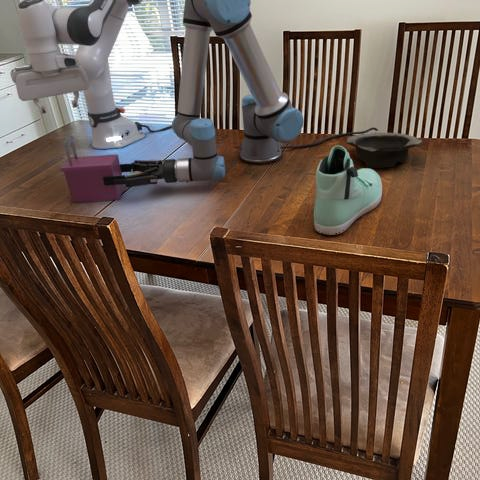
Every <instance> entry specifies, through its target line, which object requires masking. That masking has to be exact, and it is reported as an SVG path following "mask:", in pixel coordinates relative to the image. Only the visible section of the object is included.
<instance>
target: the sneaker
mask: <svg viewBox="0 0 480 480" xmlns="http://www.w3.org/2000/svg"><path fill="white" fill-rule="evenodd" d="M317 165H318V166H317V168H316V172H315V201H314V207H313V225H314V229H315V231H316V232H318V233H320V234H323V235H326V236H327V235H328V236H336V235H339V234H342V233H344V232H345V231H347V230H348V229H349V228H350V227H351V226H352V225H353V224H354V222H356V221H357V220H358V219H359V218H360V217H362V216H363V215H365V214H367V213H370V212H372V210H374V209H375V208H377V207H378V205H380V203H381V200H382V196H383V184H382V183H383V182H382V179H381V176H380V175H379V173H378V172H377V171H376V170H374V169H372V168H369V167H365V168H358V169H357V168H355V167H354V161H353V159H352V158H351V156H350V153H349V152H348V150H347V148H345V147H344V146H342V145H334V146H333V147H331V149H330V151H329V154H327V155H326V156H325V157H324V158H322V159H321V160H320V161H319V163H318V164H317ZM343 230H344V231H343ZM319 231H320V232H319ZM322 232H323V233H322ZM339 232H340V233H339ZM326 233H327V234H326ZM328 233H329V234H328ZM335 233H337V234H335Z"/></svg>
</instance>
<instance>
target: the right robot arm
mask: <svg viewBox="0 0 480 480" xmlns="http://www.w3.org/2000/svg"><path fill="white" fill-rule="evenodd" d="M251 4H252V1H251V0H185V1H184V8H183V15H182V25H183V26H184V28H185V30H184V40H183V51H182V61H181V73H180V82H179V83H180V84H179V92H178V93H179V94H178V104H177V113H176V115H175V116H174V118H173V119H172V121H171V125H172V128H171V129H172V131H173V133H174V134H175V135H176V136H177V138H179V139H181V140H183V141H184V142H185V143H187V144H189V145H190V146H191V149H192V157H182V158H177V159H175V158H169V159H167V158H166V159H164V160H162V159H161V160H160V159H159V160H154V161H150V160H145V159H144V160H140V159H135V160H133V161H132V162H131V163H120V168H121V172H122V173H130V172H132V171H133V173H134V172H135V171H139V172H143V173H139V174H134V175H125V174H122V176H106V177H103V180H104V184H105V185H122V184H124V186H125V189H126V188H134V187H140V186H147V185H157V184H158V181H159V180H164V182H165V183H166V184H171V183H172V184H176V183H186V184H188V183H190V182H214V181H221V180H224V178H226V163H225V162H226V161H225V158H224V156H222V155H218V152H217V139H216V129H215V125H214V121H213V120H212V119H210V118H206V117H201V112H202V103H203V97H204V87H205V80H206V79H205V78H206V70H207V63H208V56H209V55H208V54H209V46H210V37H211V32H212V31H213V32H214V34H215V36H216V37H217V38H221V39H223V41H224V42H225V44H226V47H227V48H228V51H229V52H230V54H231V57H232V58H233V61H234V62H235V64H236V66H237V68H238V71H239V72H240V74H241V76H242V78H243V80H244V83H245V84H246V86H247V88H248V90H249V92H250V93H249V94H246V95H245V96H243V97H242V99H241V111H242V112H241V113H242V125H243V141H242V144H241V146H240V147H238V148H237V150H238V151H237V152H238V153H240V154H239V155H240V160H241V161H243V162H244V163H247V164H249V165H250V164H251V165H266V164H271V163H275V162H277V161H279V160H281V158H282V157H283V154H282V153H283V152H282V151H283V150H285V149H286V150H287V149H300V148H308V147H314V146H317V145H320V144H323V143H324V142H326V141H328V140H331V139H335V138H338V137H339V138H340V137H344V136H354V135H359V134H366V133H370V131H373V130H374V132H375V131H376V132H378V131H379V130H378V128H377V127H370V128H368V129H366V130H363V131H362V130H361V131H351V132H343V133H339V134H338V133H337V134H334V135H331V136H328V137H325V138H323V139H321V140H320V141H315V142H312V143H308V144H307V143H306V144H300V145H283V146H281V144H288V143H291V142H293V141H294V140H295V139H297V138H298V136H299V135H300V134H301V132H302V130H303V129H302V128H304V122H305V121H304V115H303V113H302V112H301V111H300V110H299V109H298V108H296V107H294V106H293V104H292V101H291V99H290V97H289V95H288V94H287V93H286V92H283V91H281V89H280V87H279V84H278V83H277V81H276V78H275V76H274V74H273V72H272V69H271V68H270V65H269V63H268V61H267V59H266V56H265V54H264V52H263V49H262V48H261V45H260V43H259V41H258V39H257V37H256V34H255V32H254V30H253V28H252V25H251V21H252V18H253V15H252V13H251V8H250V7H251ZM280 143H281V144H280ZM162 162H163V163H162Z"/></svg>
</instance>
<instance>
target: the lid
mask: <svg viewBox="0 0 480 480" xmlns="http://www.w3.org/2000/svg"><path fill="white" fill-rule="evenodd" d="M74 141H75V137H74V136H73V135H69V136H68V137H66V139H65V140H64V141H63V142H62V144H61V146H62V147H63V148H64V150H65V154H66V158H67V159H66V161H65V162H63V164H62V165H61V166H60V168H59V169H60V172H61V173H62V172H63V173H64V171H80V170H96V169H112V167H113V166H114V164H115V162H116V161H117V159H118V158H119V154H118V153H117V154H116V153H115V154H102V155H101V154H100V155H87V156H78V154H77V151H76V150H77V149H76V147H75V146H76V145H75V143H74ZM70 145H71V149H72V154H73V156H72V157H71V154H70V150H69V146H70Z"/></svg>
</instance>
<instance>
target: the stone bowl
mask: <svg viewBox="0 0 480 480" xmlns="http://www.w3.org/2000/svg"><path fill="white" fill-rule="evenodd" d="M420 144H423V141H422V139H419V138H418V137H416V136H413V135H411V134H405V133H398V132H371V133H370V132H367V133H363V134H354V135H350V136H349V137H347V139H346V145H349V146H351V147H354V149H355V153H356V155H357V156H358V158H359V159H360V160H361V161H363V162H365V167H366V168H368V169H372V168H373V169H383V168H392V167H394V166H396V165H397V163H405V162H406V161H407V160H408V156H409V149H412V148H414V147H417V146H419V145H420Z"/></svg>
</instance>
